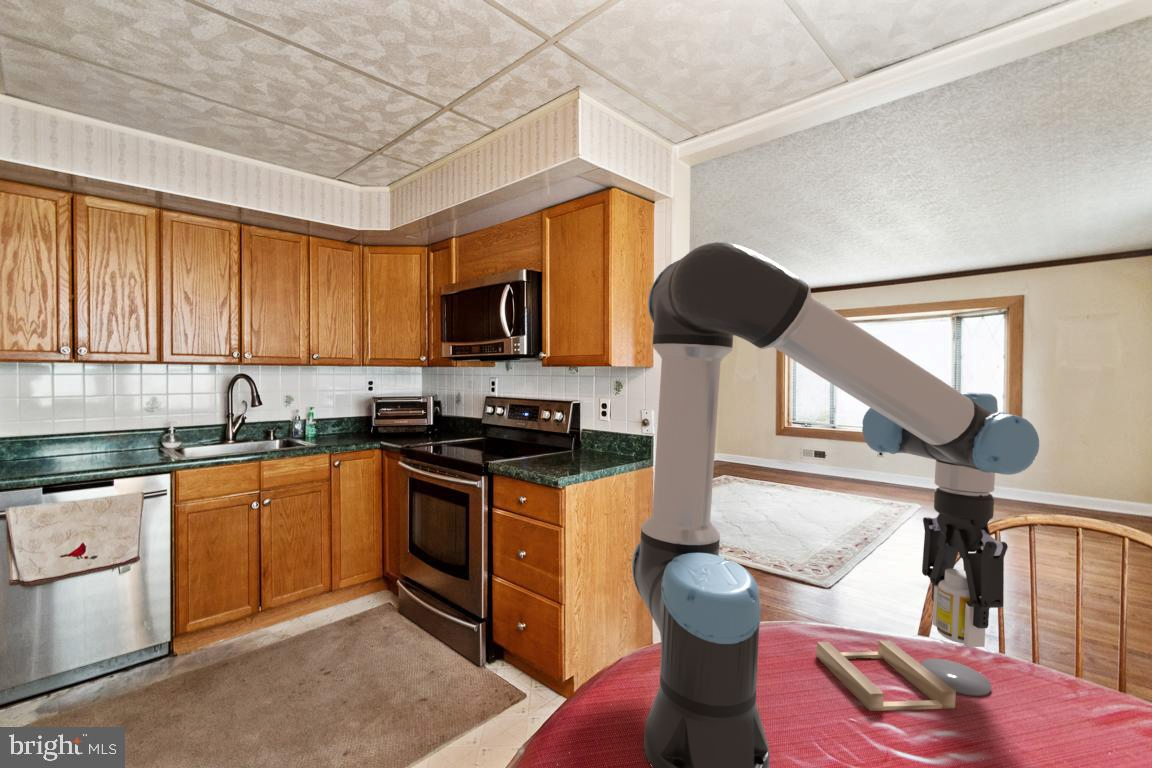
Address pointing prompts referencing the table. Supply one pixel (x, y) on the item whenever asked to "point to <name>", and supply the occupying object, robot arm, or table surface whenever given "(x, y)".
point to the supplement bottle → (952, 605)
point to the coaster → (959, 677)
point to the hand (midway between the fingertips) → (957, 634)
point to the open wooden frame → (899, 661)
